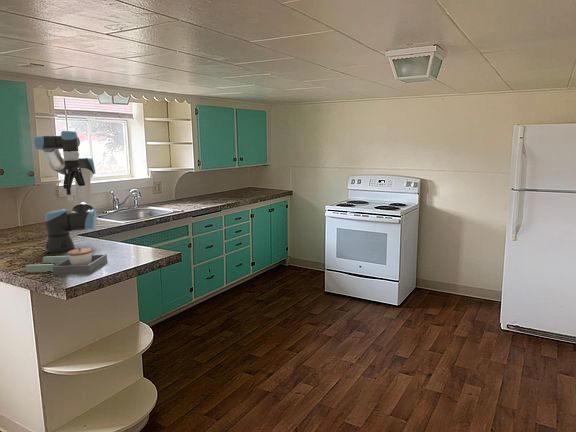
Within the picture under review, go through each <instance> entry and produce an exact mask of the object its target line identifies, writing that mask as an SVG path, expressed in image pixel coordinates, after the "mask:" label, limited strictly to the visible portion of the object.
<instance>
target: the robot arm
mask: <svg viewBox="0 0 576 432" xmlns="http://www.w3.org/2000/svg"><path fill="white" fill-rule="evenodd" d="M77 134H78V133H77V131H76V130H62V131H61V132H60V134H58V135H57V134H55V135H51V134H50V135H48V134H47V135H35V136H34V138H33V144H34V148H35V149H36V150H37V151H38V150H39V151H43V153H44V155H45V156H46V157H47V160H48V164H49V167H50V168H51V170H53V171H55V172H57V173H58V174H59V175H64V178H63V189H64V190H65V191H66V200H67V202H72V201H73V202H74V206H73V207H72V209H71V210H68V209H67V208H61V209H55V210H51V211H48V212H46V213H45V215H44V219H45V221H44V222H45V229H46V235H47V240H46V244H45V253H48V252H50V253H51V254H52V253H53V254H57V253H65V252H69V251H71V250H75V249H76V246H75V242H74V241H73V238H72V237H71V233H70V232H76V231H90V230H94V229H95V228H96V226H97V220H98V218H97V216H98V215H97V210H96V209H94V207H93V206H92V194H91V192H92V190H91V189H92V188H91V187H92V186H91V179H92V178H93V176H94V175H96V173H97V172H96V168H95V162H94V159H93V157H92V156H90V155H83V156H80V153H79V146H80V145H81V140H80V138H79V137H78V135H77ZM60 150H62V153H61V151H60ZM62 154H63V155H62ZM74 179H75V181H74V182H75V184H74V186H75V190H74V191H75V192H74V193H75V194H73V188H72V184H73V180H74ZM74 197H75V199H74ZM50 253H49V254H50Z"/></svg>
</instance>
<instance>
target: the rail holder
mask: <svg viewBox="0 0 576 432" xmlns="http://www.w3.org/2000/svg"><path fill="white" fill-rule="evenodd" d="M68 258H69V257H68V255H55V256H53V255H52V256H50V255H49V256H48V255H47V256H43V257H42V263H41V264H39V263H38V264H26V265H25V271H26V272H30V273H48V272H47V271H51V272H52V273H53V266H55V265H56V264H59V263H61V262H62V261H64V260H66V259H68ZM43 263H55V264H43ZM26 272H25V273H26ZM51 272H50V273H51Z"/></svg>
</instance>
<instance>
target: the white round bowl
mask: <svg viewBox="0 0 576 432" xmlns="http://www.w3.org/2000/svg"><path fill="white" fill-rule="evenodd" d="M92 255H93V250H92V248H89V247H88V248H87V247H86V248H84V247H83V248H81V247H78V248H74V249H73V250H70V251H67V256H68V257H69V261H70V263H71V264H72V265H73V266H76V265H89V264H90V262H91V260H92Z"/></svg>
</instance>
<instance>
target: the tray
mask: <svg viewBox="0 0 576 432" xmlns="http://www.w3.org/2000/svg"><path fill="white" fill-rule="evenodd" d="M107 255H108V254H106V253H105V254H92V260H91V262H90V264H89V265H76V266H73V265H72V264H71V263H70V261H69V258H68V259H66V260H64V261H62V262H61V263H56V264H54V265H55V266H53V272H52V273H53V276H67V275H90V274H92V273H93V272H95V271H96V270H98V269H99V268H102V266H104V265H106V264H107V263H108V256H107Z"/></svg>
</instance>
